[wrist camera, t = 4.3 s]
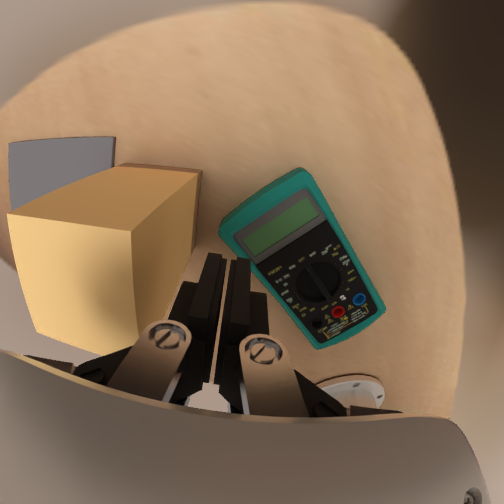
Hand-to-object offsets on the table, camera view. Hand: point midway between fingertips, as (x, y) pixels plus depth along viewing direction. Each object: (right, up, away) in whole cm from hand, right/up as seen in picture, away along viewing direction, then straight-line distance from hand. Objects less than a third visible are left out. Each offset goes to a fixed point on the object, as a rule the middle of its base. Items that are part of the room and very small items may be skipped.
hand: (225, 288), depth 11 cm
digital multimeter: (+6, +1, +11) cm, 13 cm away
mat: (-16, +6, +8) cm, 19 cm away
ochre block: (-6, +5, +8) cm, 11 cm away
